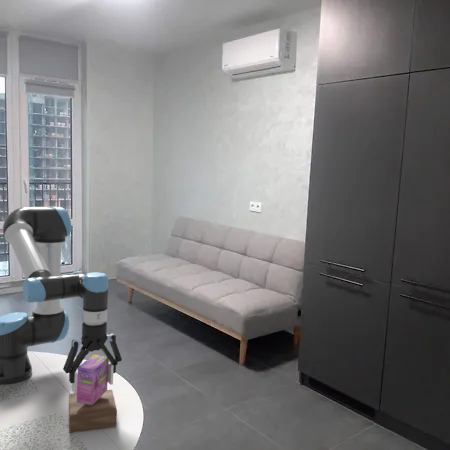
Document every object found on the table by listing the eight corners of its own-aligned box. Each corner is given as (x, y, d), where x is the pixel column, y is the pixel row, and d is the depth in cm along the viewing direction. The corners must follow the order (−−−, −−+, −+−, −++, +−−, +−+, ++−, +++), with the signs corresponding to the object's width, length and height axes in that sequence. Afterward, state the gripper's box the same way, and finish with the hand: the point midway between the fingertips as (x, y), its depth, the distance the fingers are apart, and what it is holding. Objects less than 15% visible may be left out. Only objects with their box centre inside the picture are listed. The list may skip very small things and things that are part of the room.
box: (92, 405, 142) (94, 369, 141) (76, 402, 143) (77, 366, 142) (107, 390, 152) (109, 356, 151) (92, 387, 153) (93, 354, 152)
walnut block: (68, 410, 152) (69, 393, 152) (111, 406, 157) (112, 389, 157) (69, 434, 139) (69, 415, 139) (116, 428, 144) (116, 410, 144)
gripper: (61, 331, 134) (59, 401, 137) (134, 319, 149) (131, 383, 152) (53, 324, 140) (51, 391, 143) (123, 313, 155) (121, 374, 157)
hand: (92, 387), depth 147 cm, fingers closed on box, 11 cm apart
